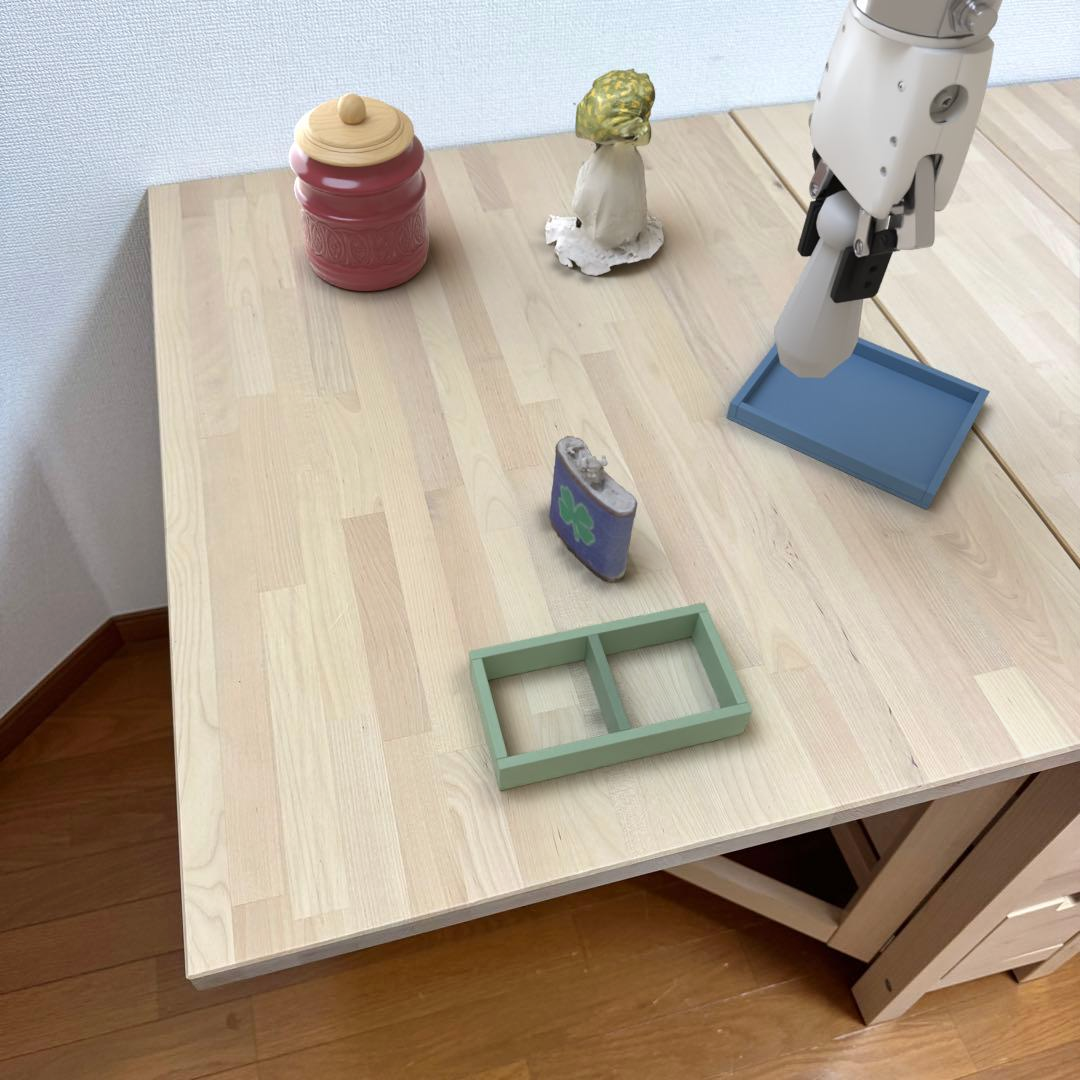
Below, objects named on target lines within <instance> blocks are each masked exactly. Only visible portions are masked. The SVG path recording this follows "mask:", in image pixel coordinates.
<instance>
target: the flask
mask: <svg viewBox="0 0 1080 1080" xmlns="http://www.w3.org/2000/svg"><path fill="white" fill-rule="evenodd" d="M554 451H555V457H554V466H553V477H552V486H551V491H550V492H551V494H550V505H549V513H548V521H549V522H550V526H551V528H552V529H553V531H554V532H555V533H556V536H557V537H558V538H559V539H560V542H562V544H563V545H564V546H565V547H566V548H567V550H568V551H570V552H571V553H572V554H573V555H574V557H576V558H577V559H578V560H579V561H580V562H581V563H582V565H584V566H585V567H586V568H587V569H588V570H589V571H590V572H591V573H592V574H594V575H595V576H597V577H598V578H600V579H602V580H603V581H606V582H608V583H611V582H617V581H619V580H620V579H622V578H623V577H624V576H625V574H626V571H627V566H628V556H629V548H630V543H631V539H632V532H633V527H634V522H635V518H636V513H637V509H638V501H637V499H636V498H635V495H633V494H632V493H630V492H629V491H627V490H626V489H625V487H624V486H622V485H620V484H619V483H618V482H617V481H616V480H615V479H614V478H612V477H611V476H610V475H609V473H607V471H606V470H604V469H605V467H607V466H608V460H607V456H606V455H603V454H602V455H600V456H601V460H598V458H597V456H596V455H593V454H592V452H591V450H589V447H588V444H587V443H586V442H585V441H584V440H583V439H581V438H580V437H575V436H573V435H566V436H564V437H563V438H561V439H559V440H558V441H557V443H556V444H555V450H554Z"/></svg>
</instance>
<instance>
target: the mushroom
mask: <svg viewBox="0 0 1080 1080" xmlns="http://www.w3.org/2000/svg"><path fill="white" fill-rule="evenodd" d="M591 85H592V87H591V88H590V90H589V91H588V92H587V93H586V94H585V95H584V96H583V98H582V99H581V101H580V102H579V103H578V104H577V103H576V102H573V103H572V104H573V105H576V104H577V105H576V111H575V123H574V124H575V127H574V129H575V130H574V131H575V132H574V133H575V136H576V138H578V139H583V140H587V141H590V142H592V143H593V144H590V146H589V148H591V146H592V147H593V145H594V147H593V150H592V152H591V154H590V155H589V157H588V158H587V159H586V160H585V161H584V163H583V164H582V166H581V167H580V168H579V170H578V173H577V177H576V182H575V185H574V192H573V197H572V203H571V210H572V212H573V213H574V215H575V216H569V215H568V216H564V217H563V216H560V215H557V216H556V215H554V214H549V218H548V219H547V220H545V244H546V245H549V244H552V243H554V242H555V241H556V243H555V244H556V245H555V246H554V249H553V251H552V253H556V255H557V257H558V260H559V263H560V264H561V265H563V266H568V268H573V266H574V265H573V263H572V261H573V262H574V263H575V265H576V266H578V267H579V268H580V271H581V272H582V273H583V274H584V275H587V276H594V277H596V276H599V275H603V274H606V273H608V272H610V271H611V270H612V269H611V268H610V267H612V266H615V265H616V266H617V265H621V264H626V263H627V264H631V263H635V262H636V263H637V262H639V261H641V260H646V259H652V256H653V255H655V253H657V251H658V250H659V249H660V248H661V247H662V245H664V239H665V237H664V232H663V227H664V224H663V222H662V221H661V220H660V219H659V217H656V216H651V217H650V216H649V214H648V201H647V185H646V173H645V172H646V171H645V169H646V167H645V165H644V161H643V157H642V155H641V153H640V151H639V150H638V148H637V147H644V146H648V145H649V144H650V142H651V139H652V127H651V123H650V121H649V119H650V117H651V116H652V108H653V106H654V104H655V101H656V91H657V88H655V86H654V84H653V82H652V81H651V79H650V75H649V74H648V73H646V72H642V73H640V72H637V71H635V68H629V69H626V70H623V69H613V70H610V71H608V72H606V73H604V74H603V75H601V76H599V77H597V78H596V79H595V80H593V82H592V84H591ZM585 145H586V146H588V143H585ZM647 151H648V152H649V151H650V150H649V149H648V150H647ZM580 224H581V225H580ZM579 225H580V227H578V226H579Z"/></svg>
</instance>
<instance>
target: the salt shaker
mask: <svg viewBox="0 0 1080 1080" xmlns="http://www.w3.org/2000/svg"><path fill="white" fill-rule="evenodd" d="M860 207H861V205H860V204H859V203H858V202H857V201H856V200H855V199H854V197H853V196H852V195H851V194H850V193H849V191H848V190H844V191H839V192H837V193H835V194H833V195H831V196H829V197H827V198H826V200H825V202H824V204H823V206H822V208H821V210H820V212H819V214H818V218H817V222H816V224H817V230H818V234H819V236H820V239H819V241H818V243H817V245H816V247H815V249H814V251H813V253H812V255H811V256H809V259H808V261H807V262H806V265H805V266H804V268H803V271H802V272H801V274H800V276H799V278H798V280H797V282H796V284H795V286H794V288H793V290H792V292H791V293H790V295H789V297H788V300H787V301H786V302H785V305H784V307H783V309H782V311H781V313H780V315H779V316H778V319H777V321H776V323H775V325H774V326H773V327H774V328H773V336H774V341H775V343H776V346H777V350H778V355H779V360H780V364H782V365H783V366H784V367H786V368H787V369H788V370H790V371H791V372H792V373H794V374H795V375H796V376H798V377H803V378H825V377H826V376H827V375H828V374H829V373H830V372H831V371H832V370H833V369H834V368H835V367H837V366H838V365H840V364H841V363H842V362H844V361H845V360H846V359H848V358H849V357H850V356H851V354H852V352H853V350H854V348H855V346H856V344H857V342H858V337H859V334H860V328H861V320H862V313H863V305H864V299H860V300H854V301H848V302H842V303H834V302H833V300H832V299H831V297H830V294H831V290H832V287H833V283H834V280H835V277H836V274H837V271H838V268H839V265H840V262H841V259H842V256H843V253H844V250H845V248H846V247H849V246H853V245H854V239H855V233H856V228H857V223H858V217H859V212H860ZM889 220H890V216H887V217H886V218H885V219H882V220H880V219H877V223H876V228H875V233H876V232H879V231H881V230H884V229H888V225H889Z"/></svg>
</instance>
